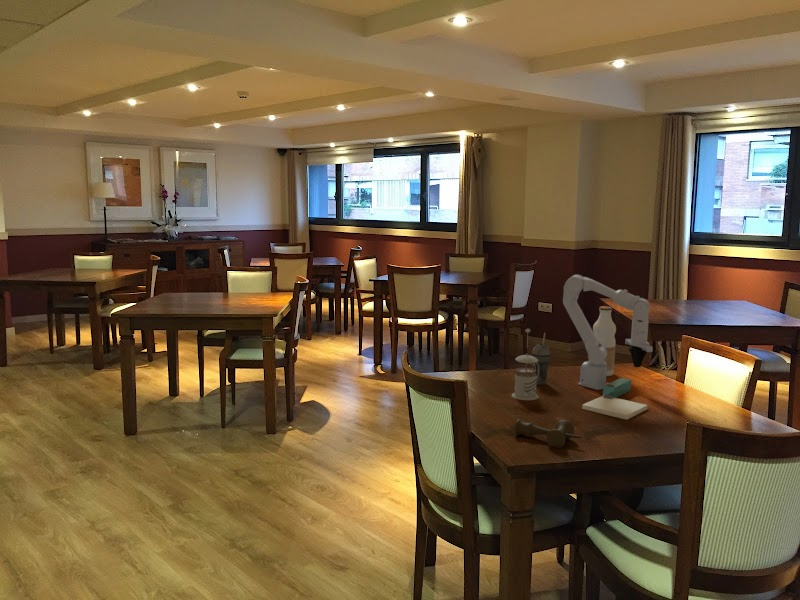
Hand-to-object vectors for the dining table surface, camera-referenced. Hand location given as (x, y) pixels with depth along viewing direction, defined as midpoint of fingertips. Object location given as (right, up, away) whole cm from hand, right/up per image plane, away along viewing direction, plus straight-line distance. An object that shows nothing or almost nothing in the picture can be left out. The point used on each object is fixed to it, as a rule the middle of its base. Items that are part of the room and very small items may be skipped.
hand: (637, 366), depth 250 cm
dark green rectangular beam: (-9, -10, -4) cm, 14 cm away
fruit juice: (-5, -6, +27) cm, 28 cm away
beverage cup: (-34, -8, +11) cm, 37 cm away
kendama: (-45, -17, -52) cm, 71 cm away
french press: (-43, -10, -7) cm, 45 cm away
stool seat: (-15, -12, -21) cm, 29 cm away
